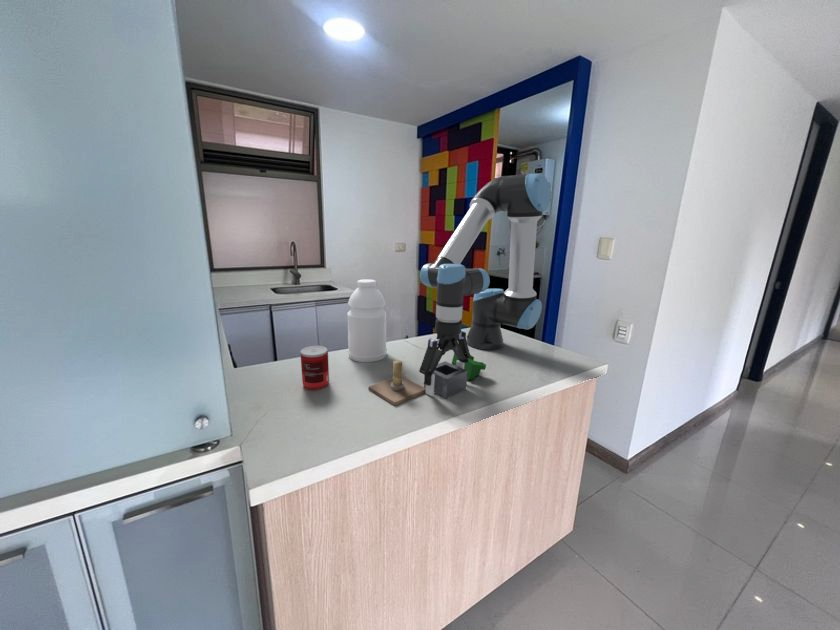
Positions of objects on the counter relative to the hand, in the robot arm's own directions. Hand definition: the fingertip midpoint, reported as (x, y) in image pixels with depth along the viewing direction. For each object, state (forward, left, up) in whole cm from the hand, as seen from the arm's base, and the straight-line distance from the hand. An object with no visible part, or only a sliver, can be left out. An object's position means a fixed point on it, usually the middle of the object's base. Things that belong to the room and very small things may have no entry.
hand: (445, 387), depth 101 cm
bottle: (+3, -36, 0) cm, 36 cm away
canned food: (+28, -27, 0) cm, 39 cm away
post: (+12, -8, 0) cm, 14 cm away
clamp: (-14, -2, -1) cm, 14 cm away
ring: (0, 0, 0) cm, 0 cm away
